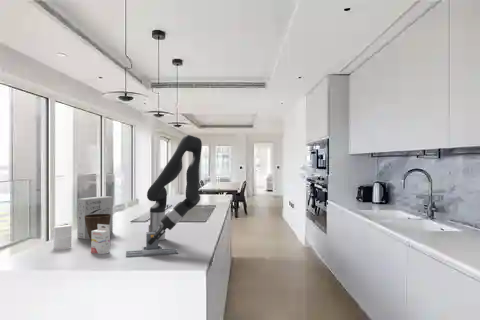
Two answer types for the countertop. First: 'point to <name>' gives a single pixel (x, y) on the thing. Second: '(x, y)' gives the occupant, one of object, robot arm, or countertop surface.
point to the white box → (62, 237)
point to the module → (154, 244)
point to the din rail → (151, 252)
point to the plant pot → (96, 221)
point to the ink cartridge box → (100, 240)
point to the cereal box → (93, 212)
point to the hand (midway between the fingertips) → (148, 242)
